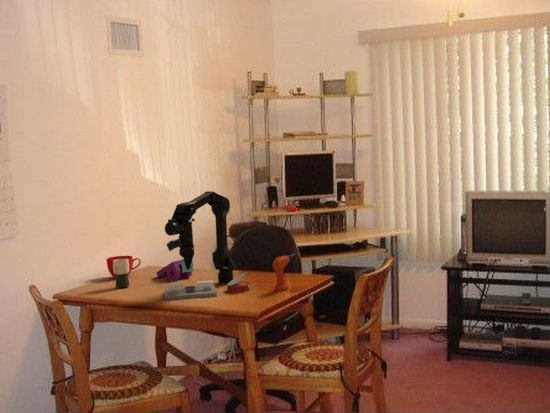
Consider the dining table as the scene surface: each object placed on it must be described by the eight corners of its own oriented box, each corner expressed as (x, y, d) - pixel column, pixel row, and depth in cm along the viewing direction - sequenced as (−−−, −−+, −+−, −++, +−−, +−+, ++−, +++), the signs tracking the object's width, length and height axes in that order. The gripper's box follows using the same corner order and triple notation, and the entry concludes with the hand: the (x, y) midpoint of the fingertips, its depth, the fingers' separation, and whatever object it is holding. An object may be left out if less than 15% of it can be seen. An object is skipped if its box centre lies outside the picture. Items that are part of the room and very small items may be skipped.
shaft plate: (214, 288, 321) (214, 277, 321) (216, 296, 305) (216, 284, 305) (165, 292, 318) (164, 281, 318) (164, 300, 303) (163, 288, 302)
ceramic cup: (144, 276, 360) (142, 257, 360) (110, 281, 354) (108, 260, 353) (138, 273, 372) (137, 254, 371) (105, 277, 366) (104, 257, 365)
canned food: (243, 302, 311) (238, 285, 306) (225, 298, 317) (219, 281, 311) (257, 286, 319) (252, 268, 314) (238, 282, 324) (233, 265, 319)
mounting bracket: (158, 290, 354) (178, 277, 343) (152, 274, 356) (172, 261, 345) (173, 287, 361) (193, 274, 350) (167, 271, 363) (187, 258, 352)
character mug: (124, 284, 342) (122, 257, 341) (136, 285, 339) (134, 258, 338) (108, 289, 332) (106, 261, 331) (121, 290, 329) (119, 262, 328)
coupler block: (193, 269, 314) (193, 258, 314) (193, 271, 310) (193, 259, 310) (182, 270, 313) (181, 259, 313) (181, 272, 310) (181, 260, 309)
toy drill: (302, 279, 324) (299, 247, 321) (282, 293, 308) (278, 260, 305) (293, 279, 326) (289, 247, 323) (272, 292, 311) (268, 259, 308)
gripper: (167, 231, 319) (169, 266, 320) (166, 236, 300) (168, 273, 302) (192, 230, 320) (194, 264, 321) (193, 234, 302) (195, 271, 303)
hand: (187, 268), depth 312 cm, fingers closed on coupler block, 4 cm apart
